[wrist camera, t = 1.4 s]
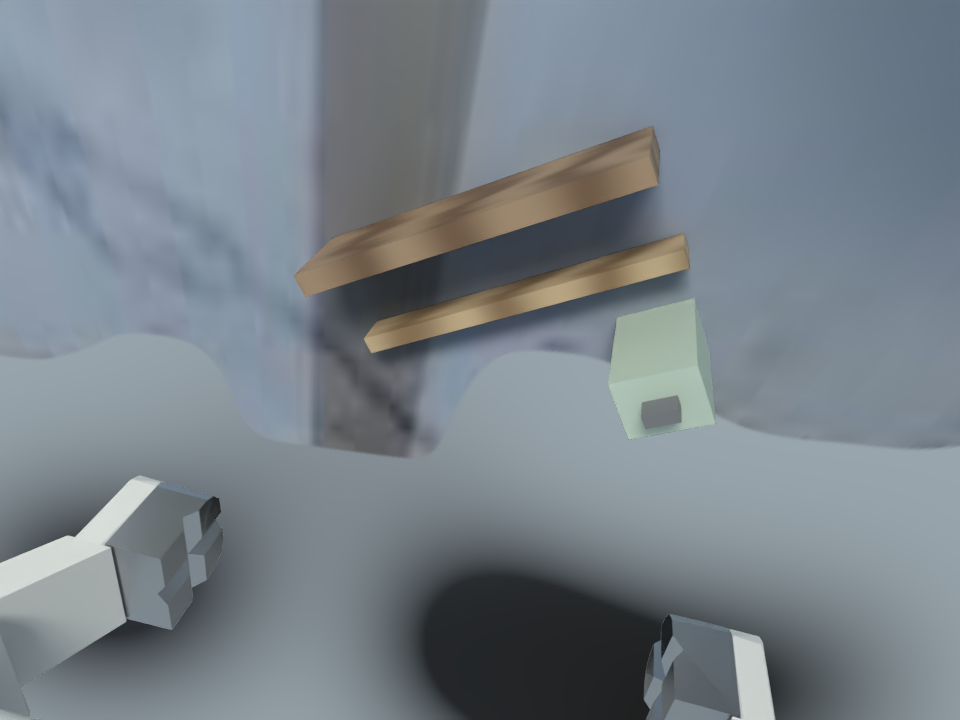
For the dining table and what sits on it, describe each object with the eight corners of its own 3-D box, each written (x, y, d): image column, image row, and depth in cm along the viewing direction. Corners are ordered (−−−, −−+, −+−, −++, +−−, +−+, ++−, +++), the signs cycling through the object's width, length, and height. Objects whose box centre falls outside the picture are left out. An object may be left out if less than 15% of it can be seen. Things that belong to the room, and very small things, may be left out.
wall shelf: (652, 125, 40) (649, 156, 35) (688, 251, 43) (691, 295, 38) (332, 238, 48) (293, 275, 43) (383, 335, 51) (352, 380, 46)
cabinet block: (694, 298, 44) (698, 381, 37) (709, 350, 46) (717, 440, 38) (616, 317, 46) (605, 399, 39) (634, 367, 48) (627, 455, 40)
